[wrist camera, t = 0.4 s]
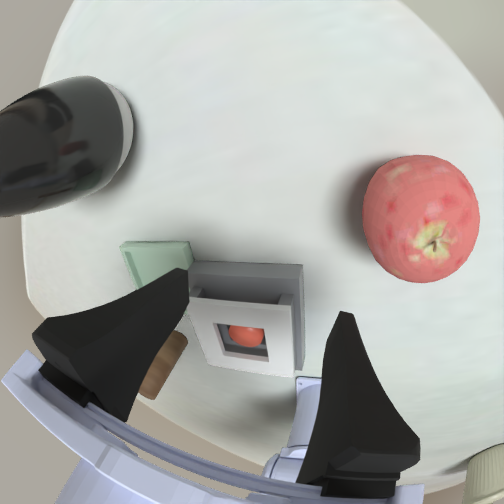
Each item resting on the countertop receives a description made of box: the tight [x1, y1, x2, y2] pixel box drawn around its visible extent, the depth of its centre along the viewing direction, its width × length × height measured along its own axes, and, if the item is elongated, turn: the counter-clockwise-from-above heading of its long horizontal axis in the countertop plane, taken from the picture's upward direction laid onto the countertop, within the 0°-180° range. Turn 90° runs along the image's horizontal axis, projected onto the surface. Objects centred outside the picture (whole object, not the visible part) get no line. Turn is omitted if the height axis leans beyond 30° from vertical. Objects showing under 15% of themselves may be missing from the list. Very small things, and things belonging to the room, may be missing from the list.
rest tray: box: [119, 241, 194, 314], centre depth 27 cm, size 8×8×1 cm
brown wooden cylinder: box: [138, 330, 188, 400], centre depth 29 cm, size 3×3×9 cm
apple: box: [362, 155, 480, 283], centre depth 14 cm, size 7×7×8 cm
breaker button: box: [229, 325, 265, 347], centre depth 25 cm, size 3×3×2 cm
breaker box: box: [186, 261, 305, 378], centre depth 25 cm, size 12×10×4 cm
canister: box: [462, 444, 504, 504], centre depth 27 cm, size 18×18×21 cm
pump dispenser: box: [0, 76, 133, 217], centre depth 14 cm, size 10×10×15 cm
